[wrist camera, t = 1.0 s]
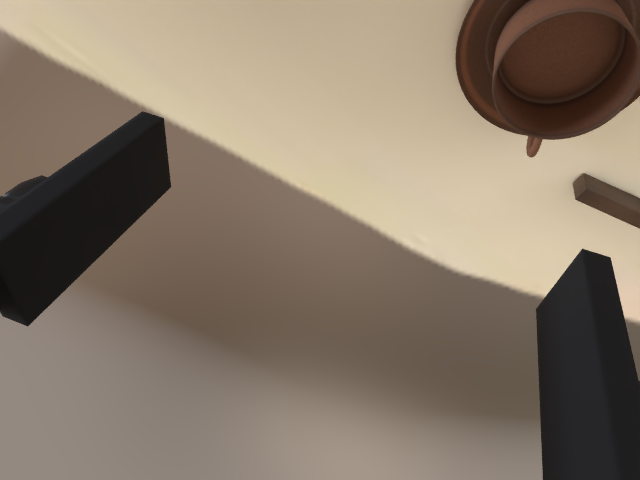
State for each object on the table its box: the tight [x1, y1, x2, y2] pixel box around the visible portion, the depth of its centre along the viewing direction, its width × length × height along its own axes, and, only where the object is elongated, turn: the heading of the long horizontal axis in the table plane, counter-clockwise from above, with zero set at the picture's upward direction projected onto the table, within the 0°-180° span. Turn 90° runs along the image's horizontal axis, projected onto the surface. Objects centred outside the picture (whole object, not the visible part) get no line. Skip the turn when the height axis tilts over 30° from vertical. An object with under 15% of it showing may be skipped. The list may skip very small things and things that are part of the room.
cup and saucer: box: [456, 0, 640, 157], centre depth 27 cm, size 12×12×6 cm
